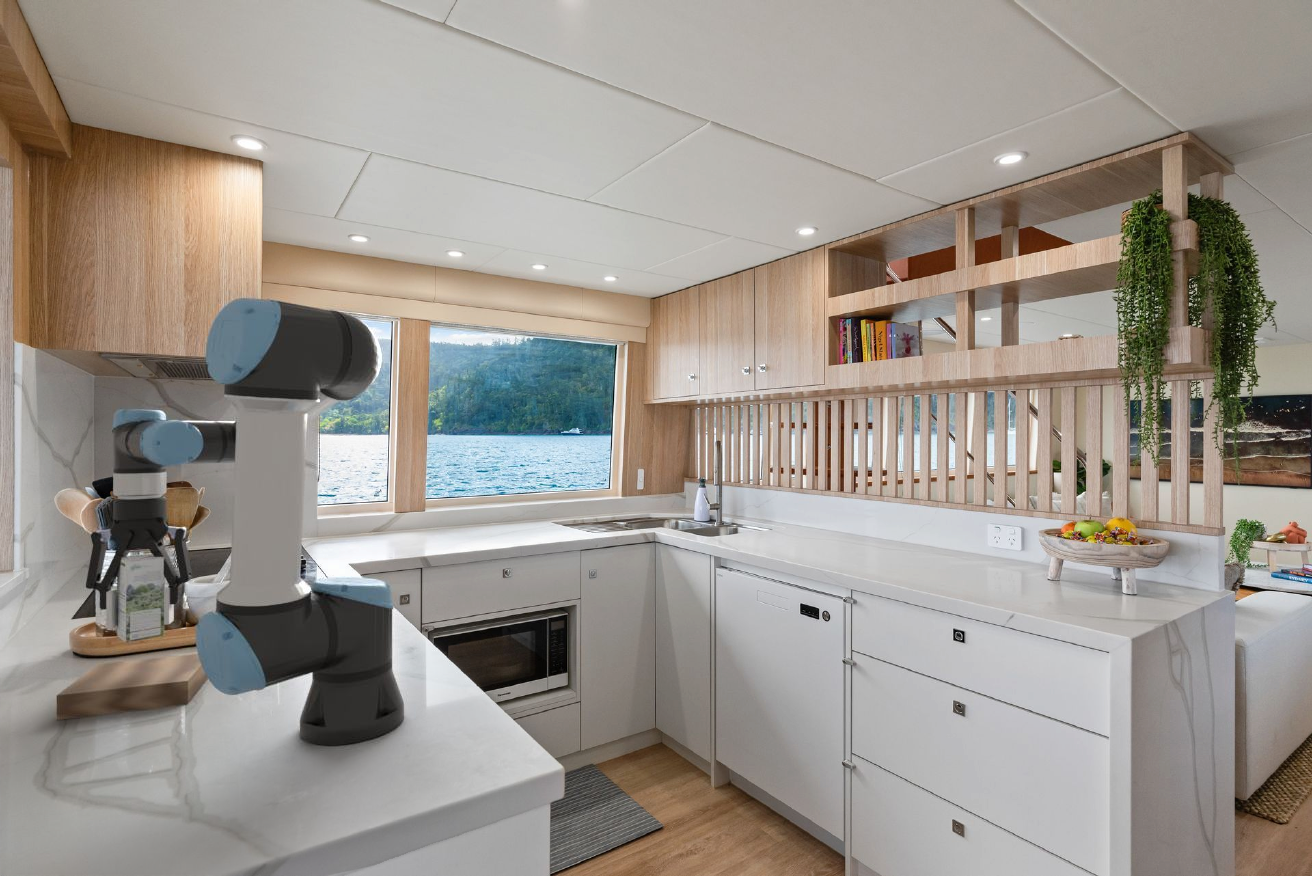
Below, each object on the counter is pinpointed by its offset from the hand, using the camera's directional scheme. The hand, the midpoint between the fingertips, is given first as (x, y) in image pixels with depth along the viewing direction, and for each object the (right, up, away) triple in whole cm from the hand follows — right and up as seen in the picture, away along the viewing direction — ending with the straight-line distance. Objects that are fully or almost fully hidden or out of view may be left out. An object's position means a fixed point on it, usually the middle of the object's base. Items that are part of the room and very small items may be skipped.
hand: (140, 624), depth 119 cm
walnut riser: (0, -12, 0) cm, 12 cm away
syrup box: (0, -2, 0) cm, 2 cm away
